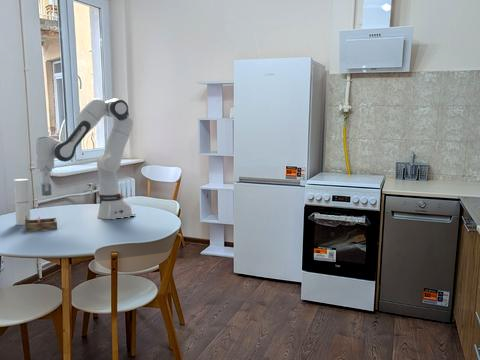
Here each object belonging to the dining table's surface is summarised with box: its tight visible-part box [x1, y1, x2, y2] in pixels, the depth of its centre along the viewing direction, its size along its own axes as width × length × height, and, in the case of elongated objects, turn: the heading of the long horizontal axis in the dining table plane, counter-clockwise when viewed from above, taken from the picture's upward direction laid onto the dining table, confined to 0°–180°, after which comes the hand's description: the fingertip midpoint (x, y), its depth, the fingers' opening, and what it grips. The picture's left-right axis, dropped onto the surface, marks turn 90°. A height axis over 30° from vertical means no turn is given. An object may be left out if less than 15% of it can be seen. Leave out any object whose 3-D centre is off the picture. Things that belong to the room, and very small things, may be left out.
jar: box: [40, 182, 53, 197], centre depth 229 cm, size 5×5×6 cm
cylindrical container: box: [13, 178, 31, 226], centre depth 228 cm, size 7×7×25 cm
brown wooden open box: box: [24, 216, 58, 233], centre depth 220 cm, size 15×10×7 cm, turn 117°
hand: (46, 189), depth 229 cm, fingers closed on jar, 5 cm apart
